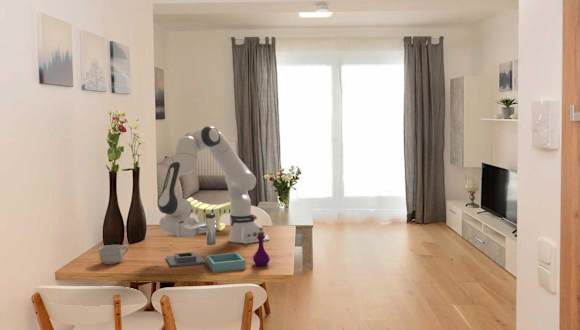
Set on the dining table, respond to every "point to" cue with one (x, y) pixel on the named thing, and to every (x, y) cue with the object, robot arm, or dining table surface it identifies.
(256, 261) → the perfume bottle
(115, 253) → the teacup
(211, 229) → the lock pin
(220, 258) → the tray
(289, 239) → the dining table surface
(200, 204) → the slatted curved stool
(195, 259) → the tensioner plate
